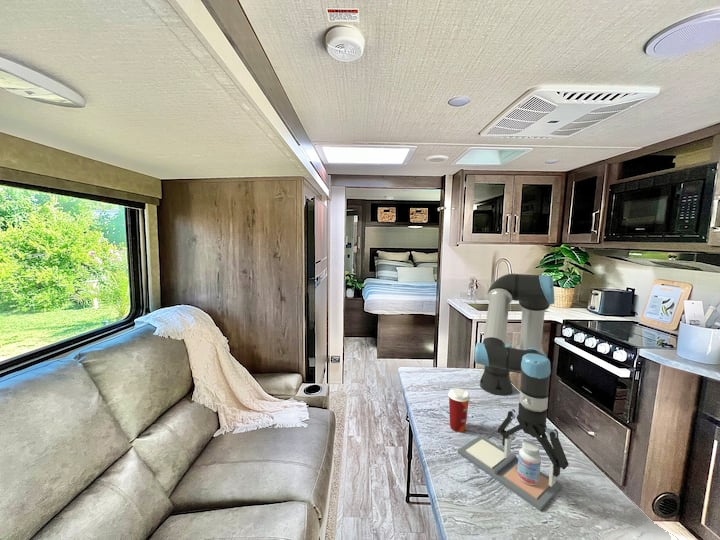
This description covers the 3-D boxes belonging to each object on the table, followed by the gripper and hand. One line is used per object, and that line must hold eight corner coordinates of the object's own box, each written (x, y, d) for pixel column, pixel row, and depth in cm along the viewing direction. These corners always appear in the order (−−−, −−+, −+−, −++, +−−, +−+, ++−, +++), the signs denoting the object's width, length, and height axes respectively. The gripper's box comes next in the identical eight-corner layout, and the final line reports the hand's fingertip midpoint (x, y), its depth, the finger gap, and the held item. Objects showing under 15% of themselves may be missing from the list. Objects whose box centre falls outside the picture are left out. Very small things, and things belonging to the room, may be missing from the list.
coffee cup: (469, 435, 116) (471, 399, 115) (447, 432, 118) (449, 396, 116) (466, 422, 125) (468, 388, 123) (446, 419, 126) (447, 386, 124)
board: (480, 437, 115) (480, 432, 115) (561, 487, 92) (562, 481, 92) (457, 452, 107) (457, 446, 107) (540, 511, 84) (540, 504, 84)
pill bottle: (514, 478, 94) (517, 445, 92) (520, 467, 98) (522, 436, 97) (536, 489, 90) (539, 455, 88) (541, 478, 94) (544, 445, 93)
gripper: (488, 391, 99) (485, 450, 101) (575, 432, 79) (568, 504, 81) (500, 385, 103) (497, 442, 106) (586, 421, 83) (579, 491, 85)
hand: (528, 469), depth 93 cm, fingers open, 13 cm apart
